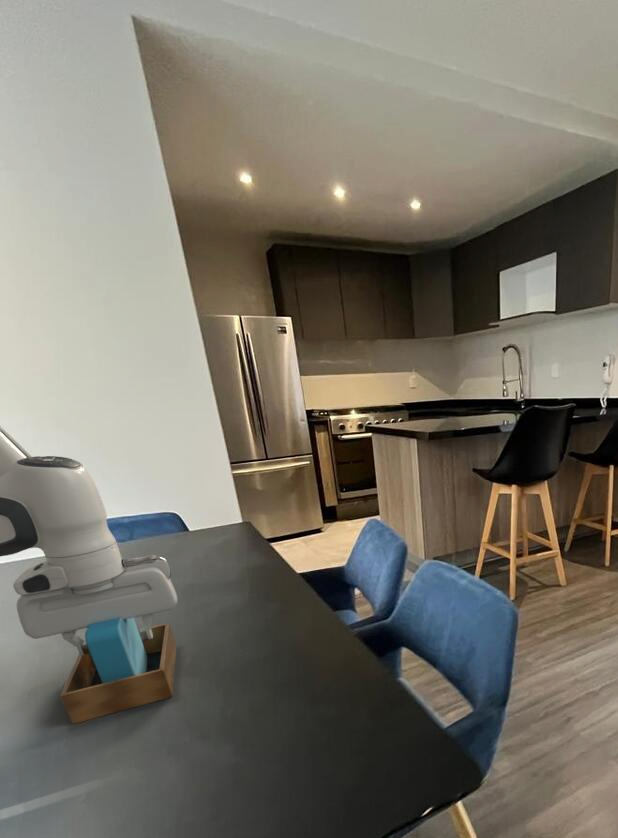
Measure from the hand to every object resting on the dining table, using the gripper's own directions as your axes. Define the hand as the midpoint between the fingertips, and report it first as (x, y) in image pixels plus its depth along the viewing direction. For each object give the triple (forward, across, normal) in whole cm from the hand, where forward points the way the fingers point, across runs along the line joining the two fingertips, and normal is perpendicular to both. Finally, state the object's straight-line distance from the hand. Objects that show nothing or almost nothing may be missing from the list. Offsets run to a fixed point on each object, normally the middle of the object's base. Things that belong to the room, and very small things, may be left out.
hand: (118, 645), depth 80 cm
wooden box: (+7, 0, 0) cm, 7 cm away
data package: (+7, 0, 0) cm, 7 cm away
